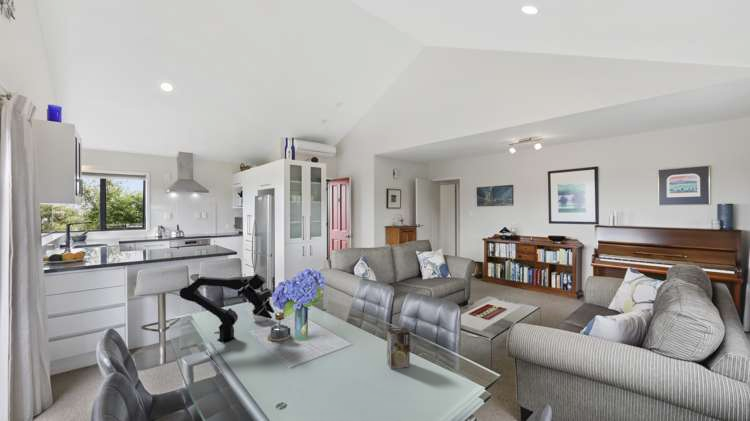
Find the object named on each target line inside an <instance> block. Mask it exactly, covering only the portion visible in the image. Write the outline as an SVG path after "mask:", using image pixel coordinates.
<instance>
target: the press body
mask: <svg viewBox="0 0 750 421" xmlns="http://www.w3.org/2000/svg"><path fill="white" fill-rule="evenodd" d="M275 327H279V324H277V325H273V326H272V327H270V333H269V334H268V336H267V340H268V341H270V342H275V343H276V342H277V343H278V342H284V341H287V340H289V339H291V337H292V336H291V335H292V333H291V327H289V326H288V325H285V324H281V327H285V328H286V329H285V330H281V331H275V330H273V329H274V328H275Z"/></svg>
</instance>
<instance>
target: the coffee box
mask: <svg viewBox="0 0 750 421" xmlns="http://www.w3.org/2000/svg"><path fill="white" fill-rule="evenodd" d="M386 331H387V332H386V364H387V365H388V367H389V370H390V369H391V370H397V369H405V368H404V367H406V368H410V361H411V360H410V359H411V358H410V357H411V356H410V354H411V353H410V351H411V349H410V348H411V347H410V346H411V342H410V341H411V340H410V339H411V336H410V334H411V332H410V331H409V330H408V329H407V328H406V327H394V328H387V329H386ZM396 368H397V369H396Z"/></svg>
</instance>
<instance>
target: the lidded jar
mask: <svg viewBox="0 0 750 421" xmlns="http://www.w3.org/2000/svg"><path fill="white" fill-rule="evenodd" d="M253 310H254V307H252V309H251V315H252V319H253V320H254V321H255V323H264V322H266V321H267V319H268V318H266V317H262V316H257V315H256V316H255V315H254V314H253ZM268 312H269V311H268ZM269 314H270V315H271V312H269Z"/></svg>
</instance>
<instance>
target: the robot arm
mask: <svg viewBox="0 0 750 421" xmlns="http://www.w3.org/2000/svg"><path fill="white" fill-rule="evenodd" d="M266 282H267V281H266V279H265V278H264V277H263V276H261V275H260V274H258V273H255V275H254V276H253V277H252V278H251V279H248V278H247V279H246V278H244V277H242V276H238V277H237V276H236V277H235V276H233V277H228V278H223V277H211V276H210V277H208V276H200V277H198V278H197V279H196V280H195V281H194V282H192V283H191V284H188V285H186V286H184V287H182V288H181V289H180V290H179V297H180V298H181V299H183V300H185V301H188V302H193V303H195V304H196V305H198V306H200V307H202V308H203V309H205V310H206V311H208V312H210V313H211V314H213V315H214V316H216V317H217V318H218V319H219V321H220V323H221V324H220V325H219V326H218V329H219V338H217V339H216V340H217V341H219V342H223V343H227V342H231V341H233V340H235V339H236V337H235V329H234V325H235V324H236V322H237V321H238V319H239V316H238V314H237V311H235V310H233V309H232V308H230V307H229V308H228V309H224V308H223V307H221V306H220V305H219V304H217V303H215V302H213V301H212V300H210V299H209V298H207V297H206V296H205V295H203V294H202V293H201V292H200V290H199V288H200V287H201V286H206V287H207V286H209V287H211V286H212V287H225V288H228V289H230V290H235V291H236V292H237V294H236V295H237V297H239V296H241V295H242V296H243V297H244V298H245V299H246V300H247V301H248V304H251V305H252V306H253V308H254V310H253V314H254V315H255V316H256V315H257V316H262V317H266V318H267V319H269V320H271V319H272V318H273V316H272V314H275V310H274V308H273V307H272V305H271V303H270V302H271V299H270V297H271V296H272V295H273V293H272V290H271V288H268V287H266V288H263V291H262V292H259V291H256V290H259V289H260V288H261V287H262V286H264V285H265V283H266ZM268 311H269V312H270V314H269V312H268Z"/></svg>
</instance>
